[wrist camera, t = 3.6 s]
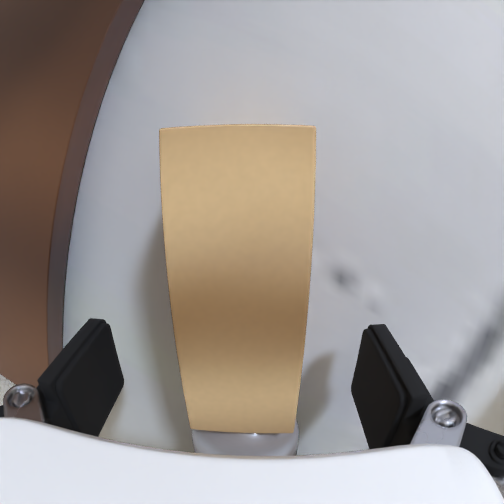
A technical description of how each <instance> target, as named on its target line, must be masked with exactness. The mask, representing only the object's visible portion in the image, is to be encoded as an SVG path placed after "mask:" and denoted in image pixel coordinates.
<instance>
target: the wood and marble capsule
mask: <svg viewBox="0 0 504 504" xmlns="http://www.w3.org/2000/svg"><path fill="white" fill-rule="evenodd" d="M159 149H160V182H161V202H162V219H163V233H164V246H165V258H166V268H167V278H168V288H169V297H170V305H171V313H172V321H173V329H174V336H175V343H176V350H177V356H178V363H179V369H180V375H181V381H182V387H183V392H184V398H185V403H186V408H187V414H188V419H189V424H190V428H191V429H192V441H193V446H194V450H195V453H203V454H216V455H234V456H296V453H297V447H298V441H299V428H298V423H297V420H296V413H297V406H298V398H299V390H300V382H301V373H302V364H303V355H304V345H305V335H306V325H307V314H308V302H309V289H310V276H311V261H312V244H313V225H314V202H315V169H316V127H315V126H309V125H281V124H231V125H203V126H185V127H171V128H161V129H160V130H159Z"/></svg>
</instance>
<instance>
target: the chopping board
mask: <svg viewBox="0 0 504 504" xmlns="http://www.w3.org/2000/svg"><path fill="white" fill-rule="evenodd" d="M143 1H144V0H0V374H1V375H3V376H4V377H6V378H7V379H8V380H10V381H11V382H13V383H14V384H16V385H18V384H23V383H26V384H31V385H33V386H35V387H36V388H37V386H38V385H39V384H38V381H37V380H38V378H39V377H40V376H41V375H42V373H43V372H44V371H45V370H46V369H47V367H48V366H49V365H50V364H51V363H52V361H53V360H54V359H55V358H56V357H57V356H58V354H59V353H60V352H61V351H62V329H63V303H64V288H65V276H66V266H67V257H68V248H69V241H70V234H71V227H72V221H73V215H74V209H75V203H76V198H77V193H78V188H79V183H80V179H81V174H82V170H83V166H84V161H85V157H86V153H87V149H88V146H89V142H90V138H91V135H92V131H93V128H94V124H95V121H96V118H97V114H98V111H99V108H100V105H101V102H102V99H103V96H104V93H105V90H106V87H107V84H108V82H109V79H110V76H111V74H112V71H113V68H114V66H115V63H116V61H117V58H118V56H119V53H120V51H121V48H122V46H123V44H124V41H125V39H126V37H127V35H128V32H129V30H130V28H131V26H132V24H133V22H134V19H135V17H136V15H137V13H138V11H139V9H140V7H141V5H142V3H143Z"/></svg>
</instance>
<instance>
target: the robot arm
mask: <svg viewBox="0 0 504 504" xmlns="http://www.w3.org/2000/svg"><path fill="white" fill-rule="evenodd" d="M37 381H38V384H39V385H38V386H37V388H36V387H35V386H33V385H31V384H26V383H23V384H18V385H15V386H13V387H12V388H10V389H9V390H8V391H7V392H6V393H5V395H4V399H3V405H2V406H0V504H504V436H502V435H499V434H496V433H493V432H490V431H487V430H484V429H482V428H479V427H476V426H473V425H471V424H468V423H466V422H467V414H466V411H465V410H464V408H463V407H462V406H461V405H459V404H458V403H456V402H454V401H452V400H447V399H440V400H436V401H434V400H433V398H432V397H431V395H430V393H429V392H428V390H427V388H426V387H425V385H424V383H423V382H422V380H421V378H420V377H419V375H418V373H417V372H416V370H415V369H414V367H413V365H412V364H411V362H410V360H409V359H408V358H407V357H405V355H404V353H403V352H402V350H401V349H400V347H399V345H398V344H397V342H396V341H395V339H394V338H393V336H392V335H391V333H390V331H389V330H388V328H387V327H386V325H385V324H378V325H369V327H368V329H364V331H363V334H362V339H361V344H360V349H359V354H358V359H357V363H356V368H355V372H354V377H353V381H352V386H351V392H352V396H353V399H354V402H355V405H356V408H357V411H358V414H359V417H360V420H361V424H362V427H363V430H364V433H365V436H366V439H367V443H368V446H369V449H368V450H360V451H351V452H341V453H329V454H317V455H299V456H234V455H216V454H203V453H192V452H182V451H174V450H166V449H159V448H153V447H146V446H140V445H135V444H129V443H124V442H119V441H114V440H110V439H105V438H101V437H98V436H99V434H100V432H101V430H102V427H103V425H104V423H105V421H106V419H107V417H108V415H109V413H110V411H111V409H112V407H113V405H114V403H115V402H116V400H117V398H118V396H119V394H120V392H121V390H122V388H123V385H124V378H123V374H122V371H121V367H120V364H119V360H118V356H117V352H116V348H115V344H114V340H113V336H112V332H111V328H110V325H109V324H107V323H106V321H105V320H103V319H93V318H91V319H89V320H88V321H87V322H86V323H85V324H84V326H83V327H82V328H81V329H80V330H79V331H78V332H77V334H76V335H75V336H74V337H73V338H72V339H71V340H70V342H69V343H68V344H67V345H66V346H65V347H64V348H63V350H62V351H61V352H60V353H59V354H58V356H57V357H56V358H55V359H54V360H53V361H52V363H51V364H50V365H49V366H48V367H47V369H46V370H45V371H44V372H43V373H42V375H41V376H40V377H39V378H38V380H37Z"/></svg>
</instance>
